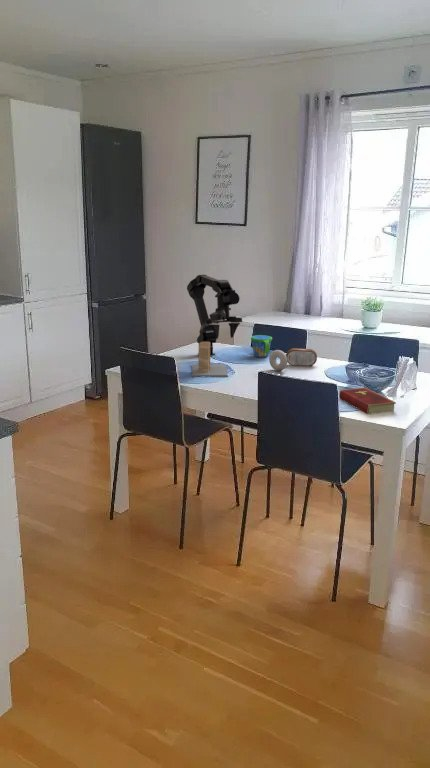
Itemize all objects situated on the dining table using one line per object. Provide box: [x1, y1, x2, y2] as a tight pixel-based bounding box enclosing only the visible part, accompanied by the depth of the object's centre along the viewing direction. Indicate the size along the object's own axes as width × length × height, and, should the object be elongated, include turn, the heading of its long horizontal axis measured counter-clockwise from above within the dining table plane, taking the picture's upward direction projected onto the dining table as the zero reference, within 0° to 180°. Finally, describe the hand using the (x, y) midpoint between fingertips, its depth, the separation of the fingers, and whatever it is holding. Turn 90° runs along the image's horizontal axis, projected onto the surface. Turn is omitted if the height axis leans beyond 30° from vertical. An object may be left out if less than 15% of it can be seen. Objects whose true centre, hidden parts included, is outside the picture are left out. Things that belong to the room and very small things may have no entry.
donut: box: [268, 349, 288, 372], centre depth 287 cm, size 10×4×10 cm, turn 46°
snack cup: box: [250, 334, 273, 358], centre depth 315 cm, size 16×10×10 cm
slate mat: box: [191, 363, 229, 378], centre depth 286 cm, size 20×16×1 cm
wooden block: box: [198, 342, 211, 372], centre depth 283 cm, size 5×4×13 cm
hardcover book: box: [338, 387, 397, 415], centre depth 239 cm, size 12×21×4 cm, turn 19°
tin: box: [285, 347, 318, 367], centre depth 297 cm, size 15×3×8 cm, turn 84°
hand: (224, 338), depth 299 cm, fingers open, 9 cm apart
